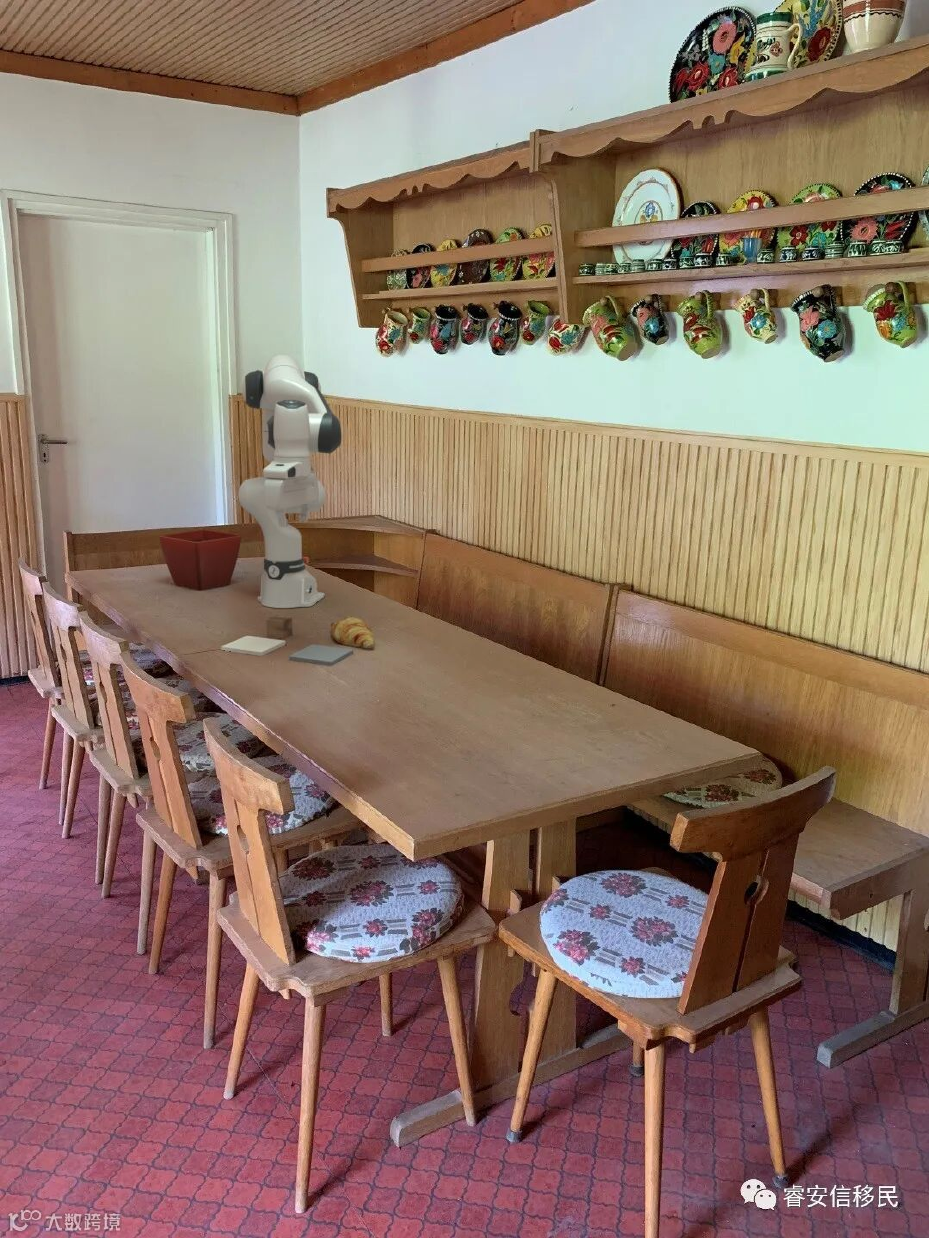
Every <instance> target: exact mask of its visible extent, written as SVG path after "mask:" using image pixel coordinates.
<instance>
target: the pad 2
mask: <svg viewBox="0 0 929 1238" xmlns="http://www.w3.org/2000/svg"><path fill="white" fill-rule="evenodd" d="M352 655H354V649H350V648H344V647H335V646H327V645H319V644H313V643H312V644H311V645H309V646H306V647H305V648H303V649H300V650H297V651H296V652H294V653H293V654H291V655H289V656H288V660H289V661H294V662H301V663H309V664H315V665H323V666H327V667H329V666H330V667H332V666H334V665H335V664H337V663H339V662H341V661H343V660H344V659H346V658H348V657H350V656H352Z"/></svg>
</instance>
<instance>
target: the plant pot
mask: <svg viewBox="0 0 929 1238" xmlns="http://www.w3.org/2000/svg"><path fill="white" fill-rule="evenodd" d="M159 540H160V546H161V550H162V554H163V556H164V560H165V563H166V566H167V569H168V571H169V573H170V576H171V579H172V581H173V583H174V585H175V586H177V587H181V588H186V589H190V590H195V591H203V590H204V591H205V590H210V589H214V588H215V589H216V588H221V587H226V586H229V585H230V582H231V580H232V578H233V577H232V576H233V575H234V571H235V568H236V564H237V562H238V558H239V553H240V547H241V540H242V535H240V534H234V533H228V532H223V531H218V530H209V529H197V530H191V531H182V532H175V533H167V534H162V535H159Z"/></svg>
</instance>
